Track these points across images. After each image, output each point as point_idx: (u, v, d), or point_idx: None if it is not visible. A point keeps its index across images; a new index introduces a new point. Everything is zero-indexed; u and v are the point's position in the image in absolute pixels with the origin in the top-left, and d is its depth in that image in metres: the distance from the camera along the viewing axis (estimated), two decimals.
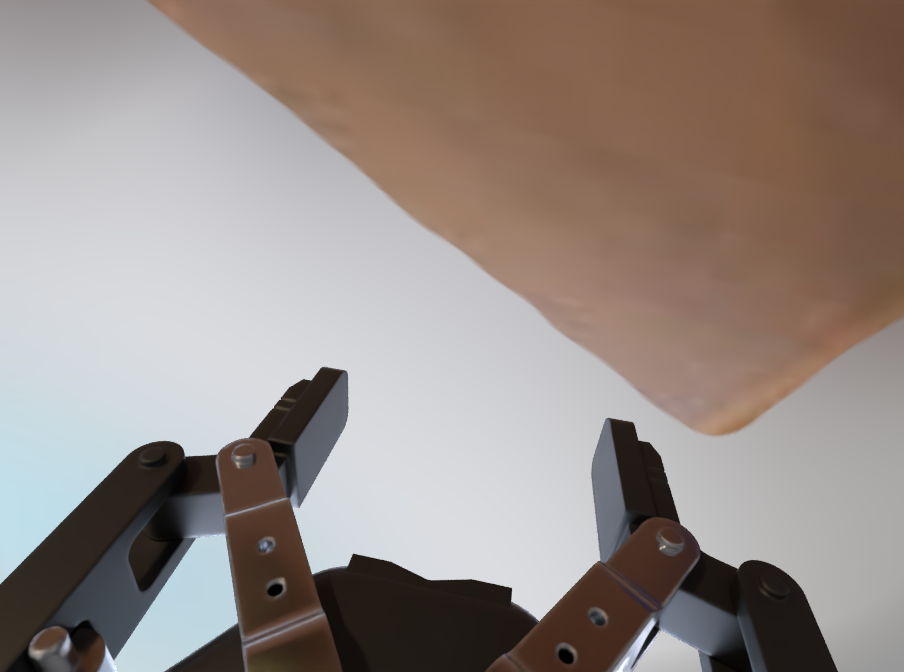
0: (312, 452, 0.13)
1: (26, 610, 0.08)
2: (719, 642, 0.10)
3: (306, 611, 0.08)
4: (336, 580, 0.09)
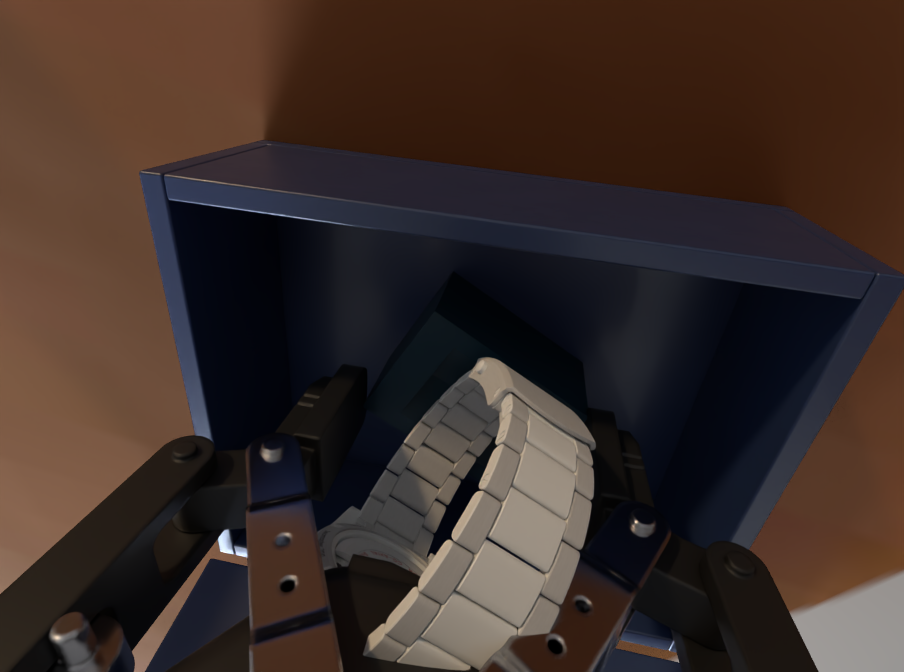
0: (335, 447, 0.13)
1: (52, 593, 0.08)
2: (688, 620, 0.10)
3: (315, 610, 0.08)
4: (336, 580, 0.09)
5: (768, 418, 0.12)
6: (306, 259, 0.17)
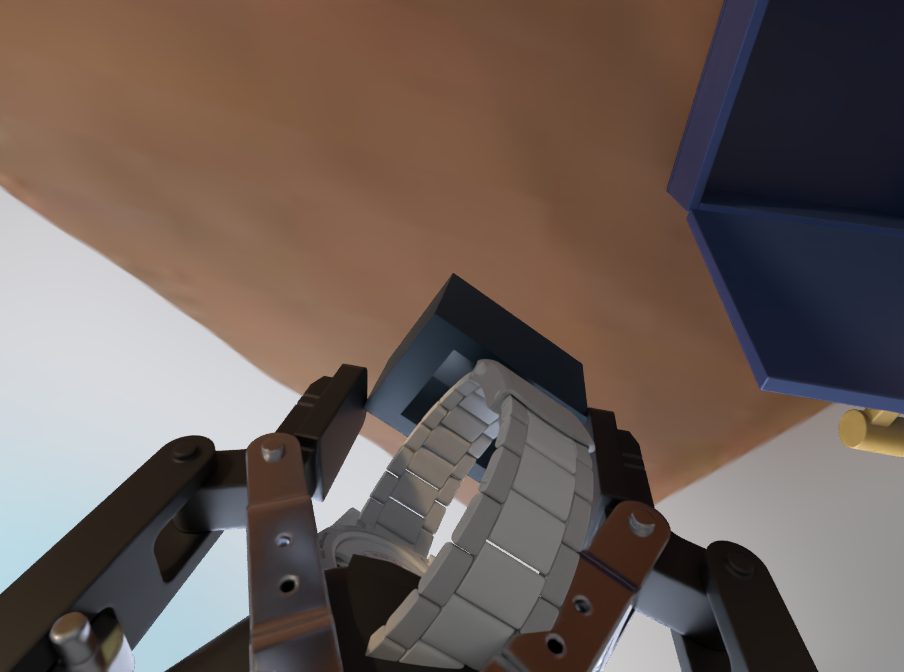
0: (336, 447, 0.13)
1: (52, 593, 0.08)
2: (688, 619, 0.10)
3: (315, 610, 0.08)
4: (336, 580, 0.09)
5: None
6: None
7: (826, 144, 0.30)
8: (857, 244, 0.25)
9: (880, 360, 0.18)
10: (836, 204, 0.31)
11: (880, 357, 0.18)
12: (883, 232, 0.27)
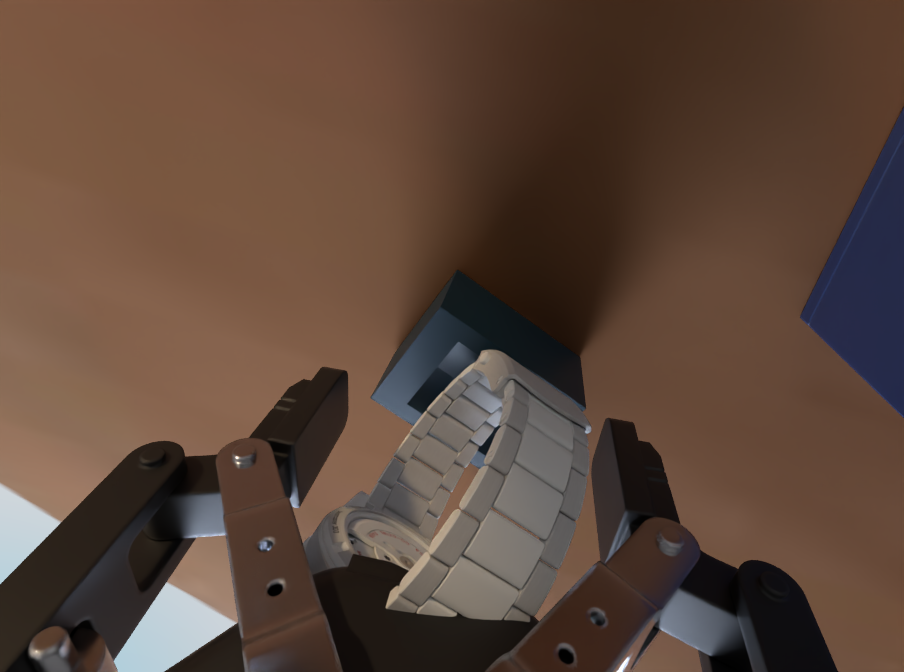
0: (312, 452, 0.13)
1: (26, 610, 0.08)
2: (719, 642, 0.10)
3: (306, 610, 0.08)
4: (336, 580, 0.09)
5: None
6: None
7: None
8: None
9: None
10: None
11: None
12: None
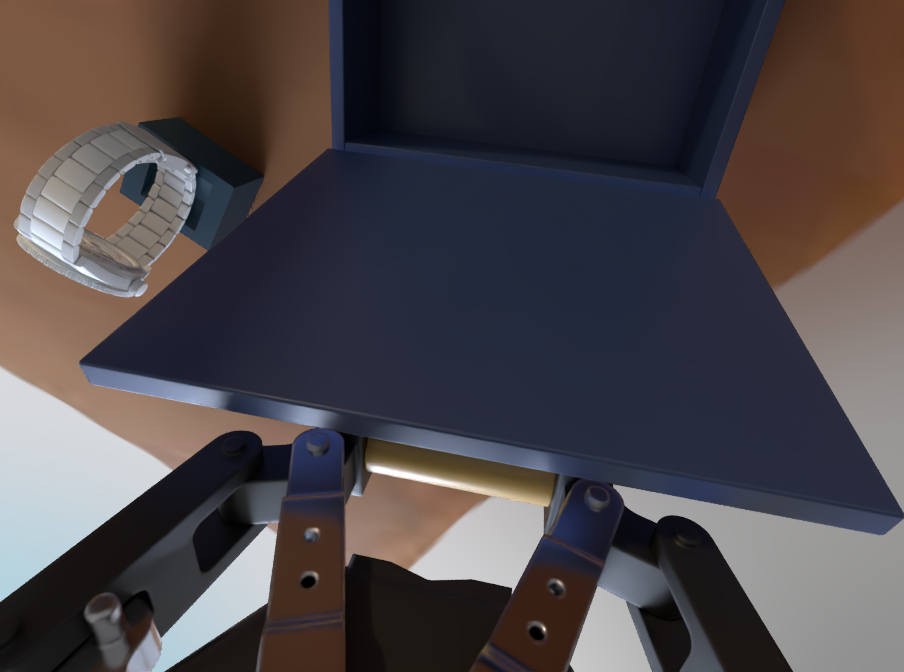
0: None
1: (94, 570, 0.09)
2: (640, 590, 0.11)
3: (329, 611, 0.08)
4: None
5: None
6: None
7: (535, 71, 0.23)
8: (509, 189, 0.19)
9: (318, 337, 0.11)
10: (564, 151, 0.25)
11: (324, 333, 0.11)
12: (571, 177, 0.20)
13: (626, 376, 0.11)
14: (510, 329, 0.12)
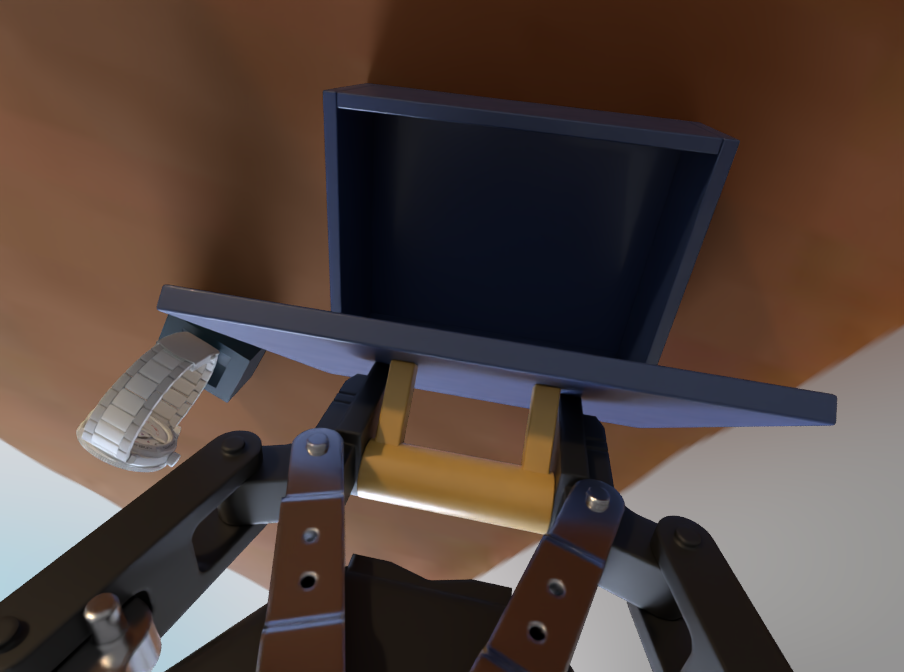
0: None
1: (93, 571, 0.09)
2: (641, 591, 0.11)
3: (330, 611, 0.08)
4: None
5: (680, 240, 0.21)
6: (391, 165, 0.26)
7: (500, 280, 0.28)
8: None
9: None
10: (526, 337, 0.29)
11: None
12: None
13: None
14: None
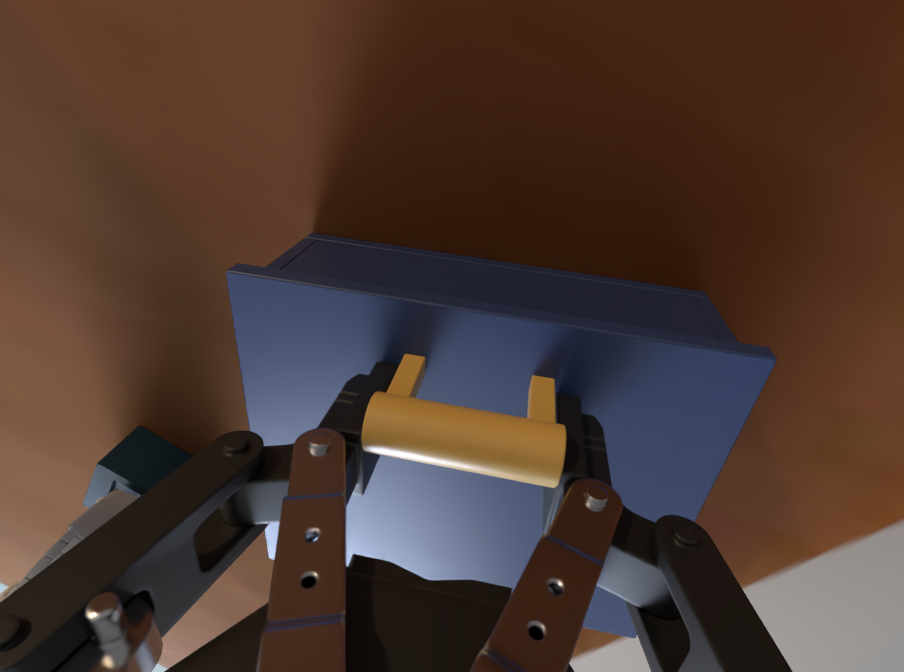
0: None
1: (95, 570, 0.09)
2: (638, 590, 0.11)
3: (330, 611, 0.08)
4: None
5: None
6: None
7: None
8: None
9: None
10: None
11: None
12: None
13: None
14: None
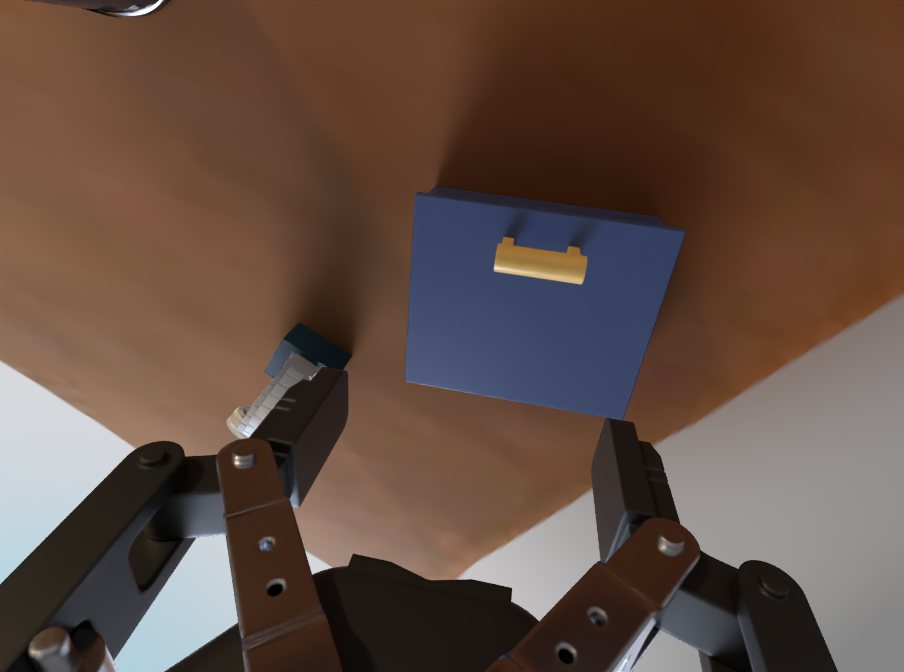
0: (312, 452, 0.13)
1: (26, 610, 0.08)
2: (719, 642, 0.10)
3: (306, 610, 0.08)
4: (336, 580, 0.09)
5: None
6: None
7: None
8: None
9: None
10: None
11: None
12: None
13: None
14: None
